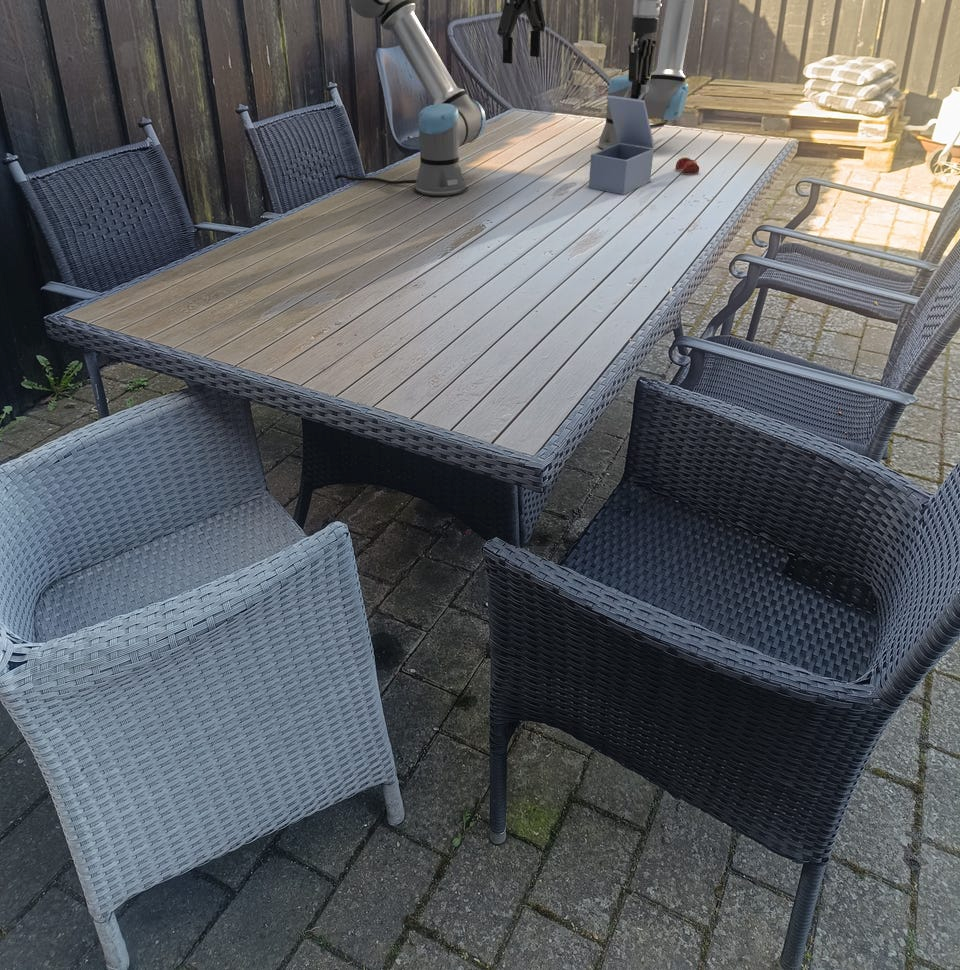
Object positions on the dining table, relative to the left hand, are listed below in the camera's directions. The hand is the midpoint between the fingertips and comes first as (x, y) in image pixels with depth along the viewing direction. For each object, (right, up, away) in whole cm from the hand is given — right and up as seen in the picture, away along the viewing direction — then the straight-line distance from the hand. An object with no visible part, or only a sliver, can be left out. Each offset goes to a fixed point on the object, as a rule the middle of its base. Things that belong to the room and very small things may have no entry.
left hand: (521, 59), depth 240 cm
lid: (+34, -12, +15) cm, 39 cm away
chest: (+32, -27, +23) cm, 48 cm away
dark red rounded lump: (+56, -19, +35) cm, 68 cm away
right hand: (+36, -6, +14) cm, 39 cm away
